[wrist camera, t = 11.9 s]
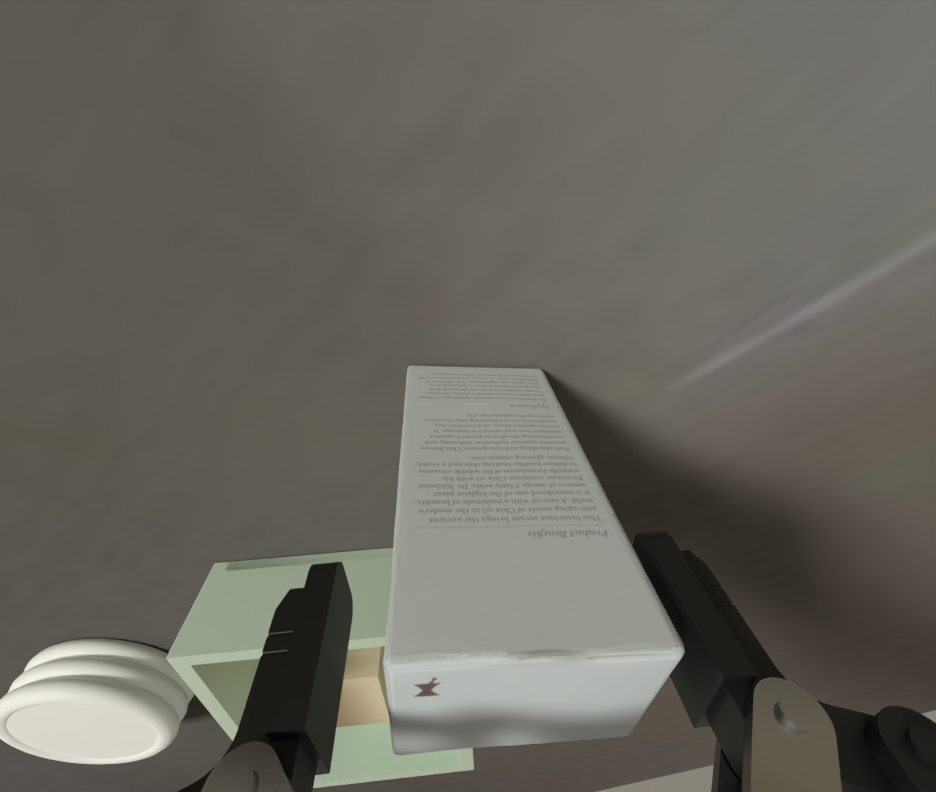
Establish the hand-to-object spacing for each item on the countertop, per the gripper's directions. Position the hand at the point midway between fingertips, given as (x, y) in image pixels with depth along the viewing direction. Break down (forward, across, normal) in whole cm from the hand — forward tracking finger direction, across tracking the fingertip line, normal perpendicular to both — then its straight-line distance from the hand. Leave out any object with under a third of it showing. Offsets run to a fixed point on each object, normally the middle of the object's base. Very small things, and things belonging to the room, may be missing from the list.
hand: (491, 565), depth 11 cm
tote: (+9, +7, +18) cm, 22 cm away
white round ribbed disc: (+9, +24, +21) cm, 33 cm away
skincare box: (+9, 0, 0) cm, 9 cm away
